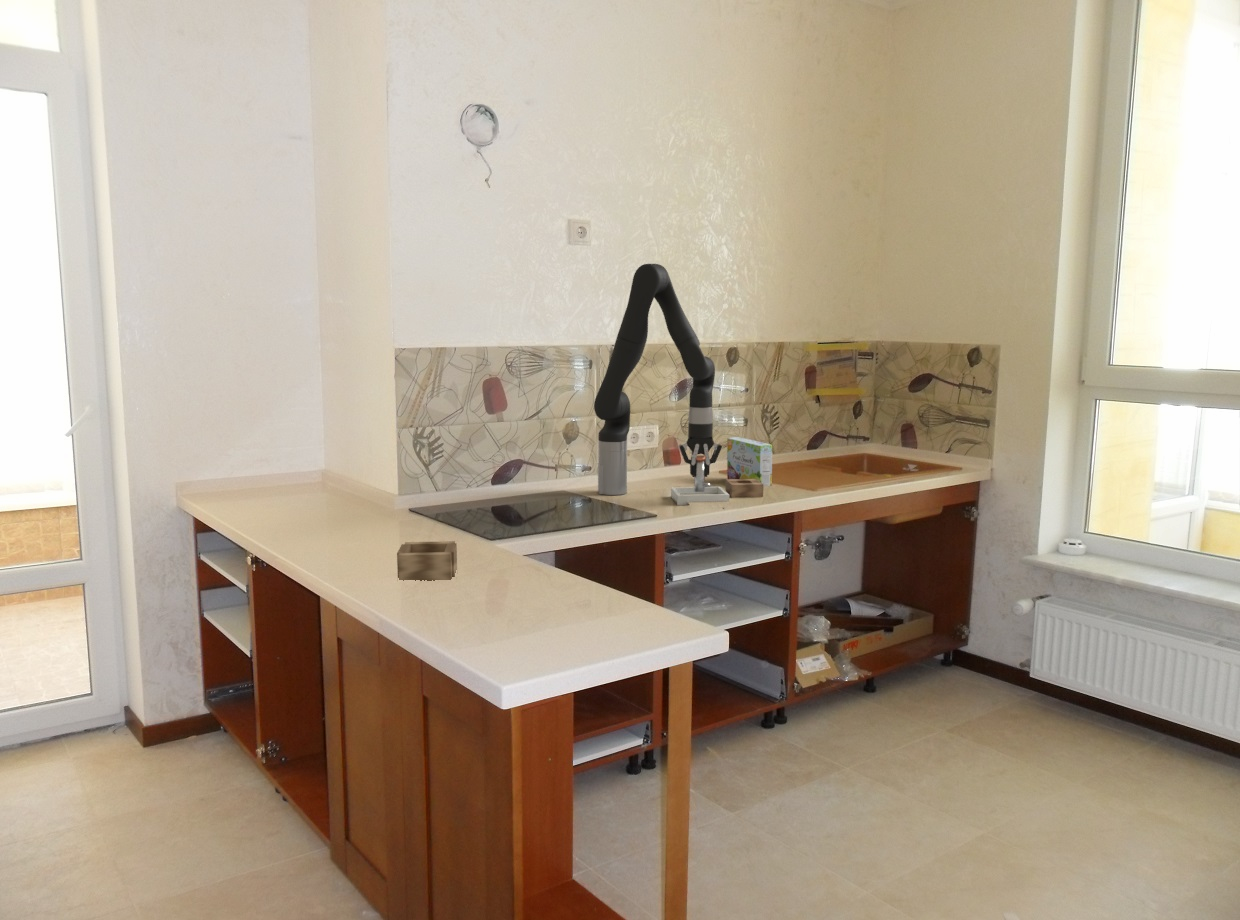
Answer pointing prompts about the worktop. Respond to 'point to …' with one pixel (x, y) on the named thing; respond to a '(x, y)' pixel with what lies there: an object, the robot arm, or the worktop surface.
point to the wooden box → (744, 488)
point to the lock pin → (700, 474)
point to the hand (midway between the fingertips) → (699, 476)
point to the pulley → (709, 485)
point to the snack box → (749, 460)
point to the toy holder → (427, 560)
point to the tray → (713, 495)
